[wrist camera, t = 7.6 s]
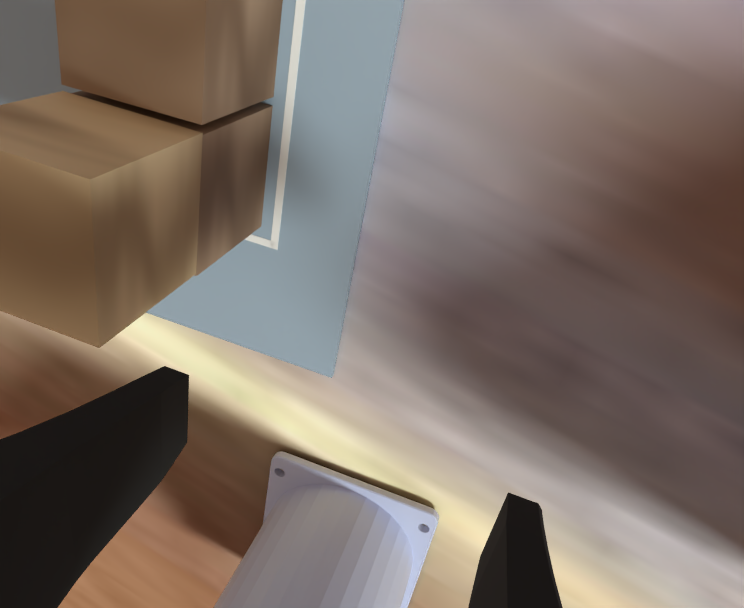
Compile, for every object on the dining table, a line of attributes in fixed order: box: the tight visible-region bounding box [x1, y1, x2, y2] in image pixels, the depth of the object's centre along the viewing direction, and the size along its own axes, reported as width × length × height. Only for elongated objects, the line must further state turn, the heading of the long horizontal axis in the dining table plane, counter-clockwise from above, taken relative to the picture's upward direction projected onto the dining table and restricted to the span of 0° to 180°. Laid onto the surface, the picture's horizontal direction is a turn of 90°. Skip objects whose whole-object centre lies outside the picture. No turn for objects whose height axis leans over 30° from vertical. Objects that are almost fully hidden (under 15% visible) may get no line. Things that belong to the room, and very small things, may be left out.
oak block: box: [0, 91, 203, 348], centre depth 16 cm, size 4×4×4 cm
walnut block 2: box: [72, 91, 273, 276], centre depth 20 cm, size 4×4×4 cm
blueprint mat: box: [0, 0, 404, 378], centre depth 23 cm, size 16×20×1 cm
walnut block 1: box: [55, 0, 283, 125], centre depth 18 cm, size 4×4×4 cm
